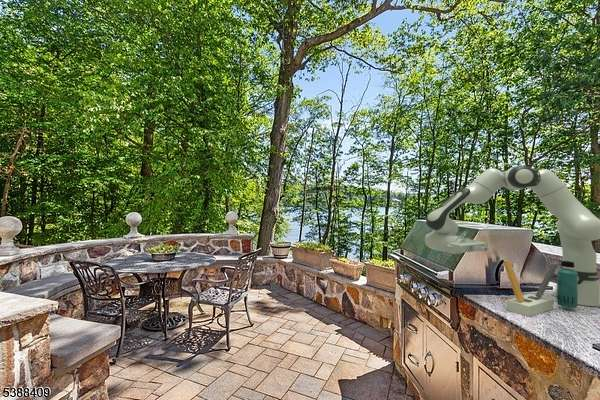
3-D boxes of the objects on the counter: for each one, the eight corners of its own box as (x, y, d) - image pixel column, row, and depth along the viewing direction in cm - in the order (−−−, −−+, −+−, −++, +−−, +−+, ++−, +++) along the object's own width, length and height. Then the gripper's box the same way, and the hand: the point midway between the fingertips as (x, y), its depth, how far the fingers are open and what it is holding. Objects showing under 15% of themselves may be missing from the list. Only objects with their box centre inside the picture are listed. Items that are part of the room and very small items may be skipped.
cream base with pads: (530, 302, 127) (530, 292, 127) (553, 308, 120) (553, 298, 120) (506, 309, 118) (506, 299, 118) (529, 316, 110) (529, 305, 110)
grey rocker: (538, 294, 123) (555, 262, 118) (542, 296, 122) (558, 263, 117) (535, 295, 122) (551, 262, 117) (538, 297, 121) (555, 264, 116)
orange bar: (521, 300, 117) (506, 260, 122) (524, 300, 116) (509, 260, 121) (517, 301, 115) (502, 261, 120) (520, 301, 114) (505, 261, 119)
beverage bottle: (568, 306, 122) (569, 259, 123) (582, 312, 116) (583, 263, 116) (552, 305, 123) (552, 259, 123) (565, 311, 116) (565, 262, 117)
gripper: (442, 239, 135) (471, 243, 123) (468, 237, 145) (498, 241, 133) (442, 252, 135) (471, 258, 123) (468, 250, 145) (497, 254, 133)
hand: (485, 249), depth 128 cm, fingers closed
